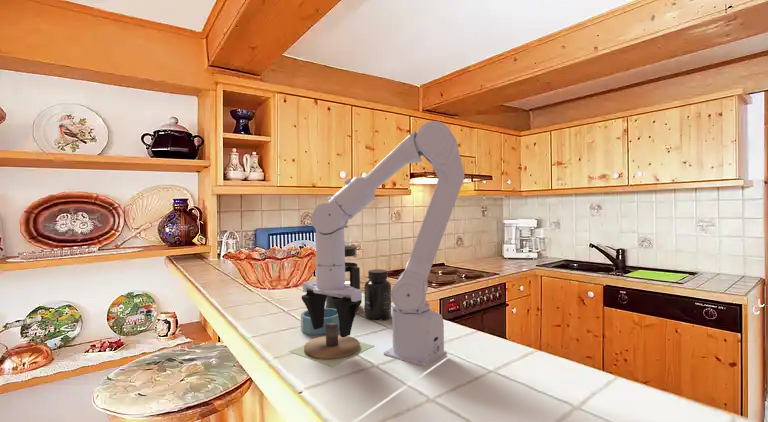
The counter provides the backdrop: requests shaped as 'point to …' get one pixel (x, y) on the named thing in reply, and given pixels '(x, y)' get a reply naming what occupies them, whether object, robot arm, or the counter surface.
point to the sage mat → (335, 361)
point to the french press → (353, 276)
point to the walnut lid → (331, 345)
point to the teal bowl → (329, 317)
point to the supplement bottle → (377, 295)
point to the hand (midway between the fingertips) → (331, 331)
